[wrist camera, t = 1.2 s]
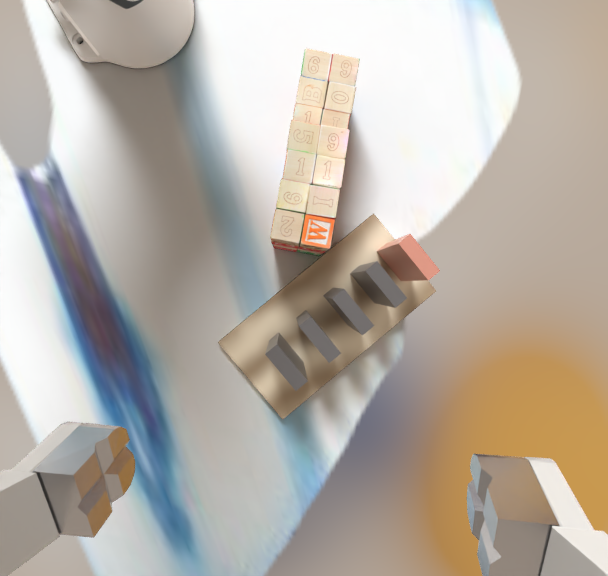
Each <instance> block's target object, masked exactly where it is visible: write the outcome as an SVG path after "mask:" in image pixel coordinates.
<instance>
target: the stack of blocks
mask: <svg viewBox="0 0 608 576" xmlns="http://www.w3.org/2000/svg"><path fill="white" fill-rule="evenodd" d="M359 61H360V59H358V58H353V57H348V56H343V55H339V54H331V53H326V52H322V51H316V50H312V49H307V48H306V49H305V52H304V59H303V65H302V71H301V76H300V80H299V86H298V92H297V98H296V104H295V109H294V116H293V120H291V125H290V131H289V138H288V144H287V155H286V161H285V167H284V173H283V178H282V179H281V183H280V188H279V194H278V200H277V205H276V210H275V215H274V220H273V225H272V231H271V237H270V238H271V242H272V244H273V247H274V248H278V249H283V250H289V251H294V252H301V253H307V254H312V255H317V256H320V255H321V254H322V253H325V252H326V251H327V250H328V249H330V247H331V241H332V235H333V229H334V223H335V218H336V214H337V207H338V200H339V193H340V189H341V186H342V180H343V173H344V167H345V157H346V152H347V145H348V138H349V132H350V130H349V129H348V124H349V119H350V116H351V113H352V108H353V102H354V96H355V90H356V87H355V84H356V78H357V72H358V67H359Z"/></svg>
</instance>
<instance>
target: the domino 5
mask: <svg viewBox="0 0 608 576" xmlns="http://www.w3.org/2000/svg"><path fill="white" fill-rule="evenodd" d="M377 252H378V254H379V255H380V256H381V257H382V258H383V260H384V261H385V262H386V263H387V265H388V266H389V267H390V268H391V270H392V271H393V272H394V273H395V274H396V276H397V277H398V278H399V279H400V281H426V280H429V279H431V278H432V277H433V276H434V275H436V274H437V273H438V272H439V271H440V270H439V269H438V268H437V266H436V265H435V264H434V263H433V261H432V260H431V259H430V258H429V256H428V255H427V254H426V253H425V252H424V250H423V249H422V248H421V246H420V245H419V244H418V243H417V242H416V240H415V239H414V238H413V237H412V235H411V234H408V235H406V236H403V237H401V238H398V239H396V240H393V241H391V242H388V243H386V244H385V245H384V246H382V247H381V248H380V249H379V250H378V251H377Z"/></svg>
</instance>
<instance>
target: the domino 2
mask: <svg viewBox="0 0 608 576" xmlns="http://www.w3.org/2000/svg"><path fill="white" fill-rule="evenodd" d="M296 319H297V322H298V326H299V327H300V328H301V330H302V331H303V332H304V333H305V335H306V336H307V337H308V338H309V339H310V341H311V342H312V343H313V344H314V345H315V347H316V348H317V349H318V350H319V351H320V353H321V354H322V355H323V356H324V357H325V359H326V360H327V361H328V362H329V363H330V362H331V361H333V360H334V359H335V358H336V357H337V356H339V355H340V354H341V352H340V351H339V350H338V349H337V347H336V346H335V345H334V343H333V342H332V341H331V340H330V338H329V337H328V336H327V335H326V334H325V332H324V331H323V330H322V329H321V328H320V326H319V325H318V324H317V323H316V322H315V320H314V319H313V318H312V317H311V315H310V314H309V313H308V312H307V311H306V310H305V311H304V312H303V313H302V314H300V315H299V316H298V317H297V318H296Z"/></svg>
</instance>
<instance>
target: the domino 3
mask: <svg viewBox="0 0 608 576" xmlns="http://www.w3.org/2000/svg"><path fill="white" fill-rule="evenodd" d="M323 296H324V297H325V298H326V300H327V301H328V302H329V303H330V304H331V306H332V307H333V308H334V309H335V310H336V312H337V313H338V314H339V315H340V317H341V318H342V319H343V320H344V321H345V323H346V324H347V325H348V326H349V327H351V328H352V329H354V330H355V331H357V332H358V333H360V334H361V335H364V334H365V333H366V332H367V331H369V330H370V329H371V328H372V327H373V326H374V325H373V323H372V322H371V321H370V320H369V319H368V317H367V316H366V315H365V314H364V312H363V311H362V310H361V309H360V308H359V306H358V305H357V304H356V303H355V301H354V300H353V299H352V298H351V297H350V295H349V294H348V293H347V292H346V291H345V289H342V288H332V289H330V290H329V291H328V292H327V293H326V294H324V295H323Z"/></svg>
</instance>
